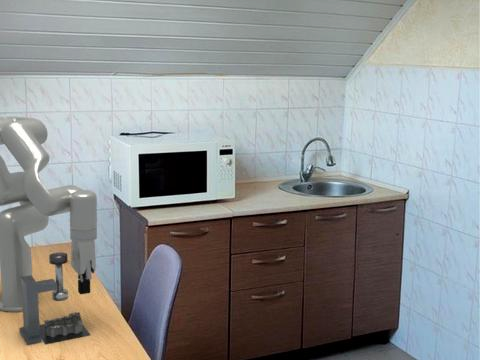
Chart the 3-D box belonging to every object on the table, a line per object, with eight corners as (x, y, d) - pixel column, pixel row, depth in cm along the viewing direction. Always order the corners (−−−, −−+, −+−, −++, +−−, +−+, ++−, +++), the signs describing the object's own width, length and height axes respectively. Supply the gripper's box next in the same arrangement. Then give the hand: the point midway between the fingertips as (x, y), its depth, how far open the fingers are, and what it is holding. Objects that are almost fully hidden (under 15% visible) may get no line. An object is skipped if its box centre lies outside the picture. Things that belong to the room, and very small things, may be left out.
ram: (49, 296, 196) (47, 253, 194) (66, 293, 199) (64, 251, 196) (53, 302, 192) (51, 258, 189) (71, 299, 194) (69, 256, 192)
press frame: (18, 329, 198) (14, 273, 195) (77, 318, 206) (74, 264, 203) (28, 348, 186) (25, 289, 183) (90, 336, 195) (88, 279, 191)
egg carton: (81, 324, 202) (81, 311, 201) (83, 334, 195) (83, 321, 194) (44, 327, 199) (44, 314, 198) (44, 338, 192) (44, 324, 191)
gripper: (63, 227, 200) (64, 285, 204) (78, 242, 187) (78, 304, 191) (88, 224, 203) (89, 282, 208) (104, 239, 191) (104, 300, 195)
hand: (84, 292), depth 199 cm, fingers closed
